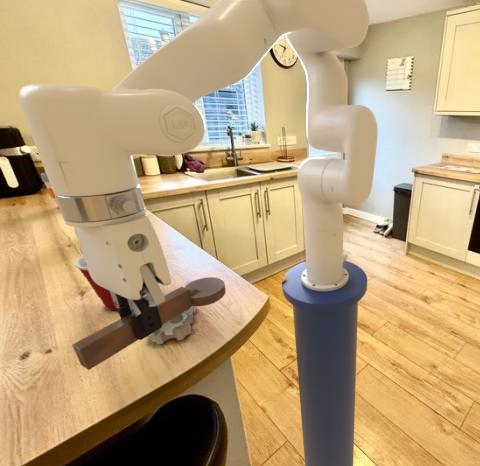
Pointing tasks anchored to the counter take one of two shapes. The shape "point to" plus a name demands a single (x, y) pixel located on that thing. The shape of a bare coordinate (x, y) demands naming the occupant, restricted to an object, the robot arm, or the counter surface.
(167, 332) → the crystal geode chunk
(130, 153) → the robot arm
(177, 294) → the spoon
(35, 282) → the counter surface
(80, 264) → the plastic cup
